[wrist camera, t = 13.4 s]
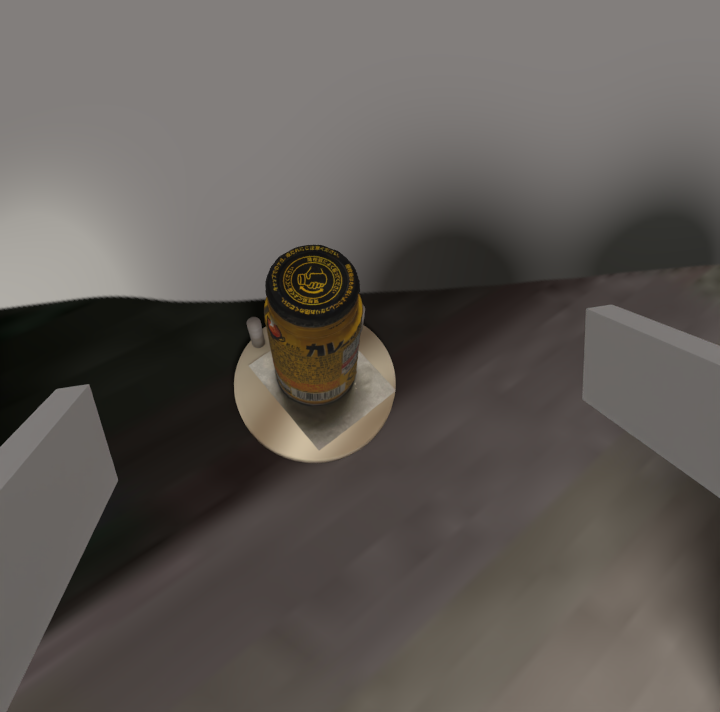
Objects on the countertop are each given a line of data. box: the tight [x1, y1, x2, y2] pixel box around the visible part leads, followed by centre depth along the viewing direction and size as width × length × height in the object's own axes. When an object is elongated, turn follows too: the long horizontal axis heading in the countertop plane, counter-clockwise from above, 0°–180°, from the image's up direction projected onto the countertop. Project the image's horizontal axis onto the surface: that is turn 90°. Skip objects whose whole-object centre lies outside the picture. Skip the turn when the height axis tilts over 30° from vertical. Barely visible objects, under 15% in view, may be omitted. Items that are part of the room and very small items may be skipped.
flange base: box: [234, 304, 395, 463], centre depth 39 cm, size 12×12×4 cm
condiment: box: [249, 245, 396, 450], centre depth 35 cm, size 7×8×12 cm
